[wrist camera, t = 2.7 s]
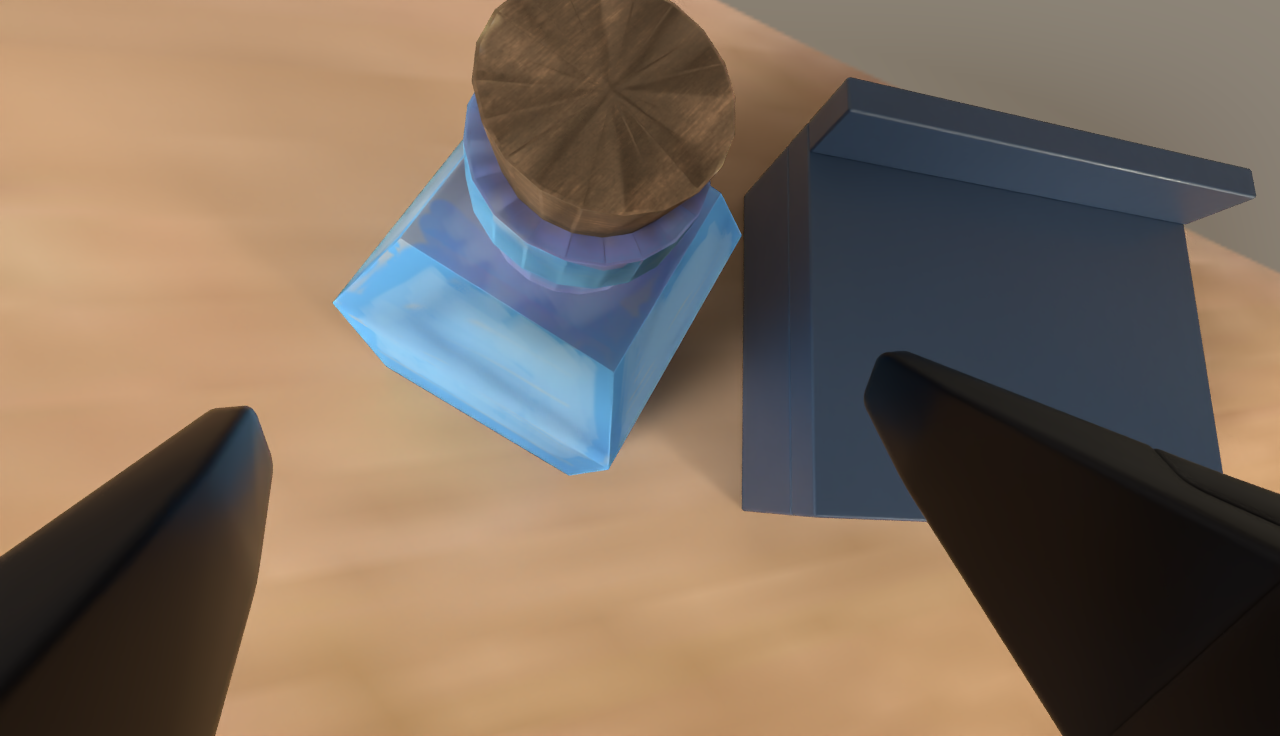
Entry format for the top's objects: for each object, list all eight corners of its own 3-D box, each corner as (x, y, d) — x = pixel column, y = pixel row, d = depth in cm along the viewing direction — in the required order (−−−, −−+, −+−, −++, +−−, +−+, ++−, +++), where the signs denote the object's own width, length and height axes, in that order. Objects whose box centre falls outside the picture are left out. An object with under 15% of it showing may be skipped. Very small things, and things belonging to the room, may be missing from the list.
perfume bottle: (569, 475, 18) (711, 453, 6) (386, 366, 17) (182, 125, 6) (665, 311, 20) (911, 65, 8) (503, 206, 19) (525, -220, 8)
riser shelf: (1090, 525, 22) (1323, 539, 16) (740, 510, 19) (863, 521, 13) (1059, 249, 24) (1252, 168, 18) (743, 195, 21) (847, 74, 15)
